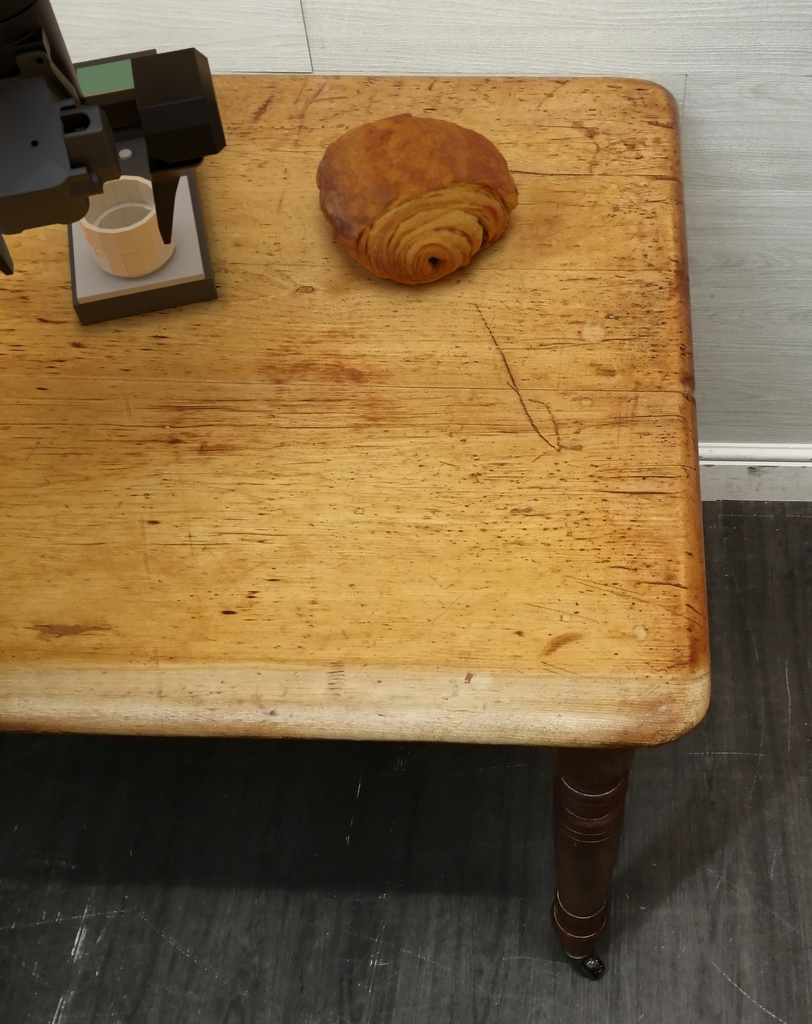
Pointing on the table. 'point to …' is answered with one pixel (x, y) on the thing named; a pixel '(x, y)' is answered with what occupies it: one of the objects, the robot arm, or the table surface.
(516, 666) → the table surface
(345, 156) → the croissant
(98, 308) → the scale
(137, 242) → the bowl
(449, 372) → the table surface
